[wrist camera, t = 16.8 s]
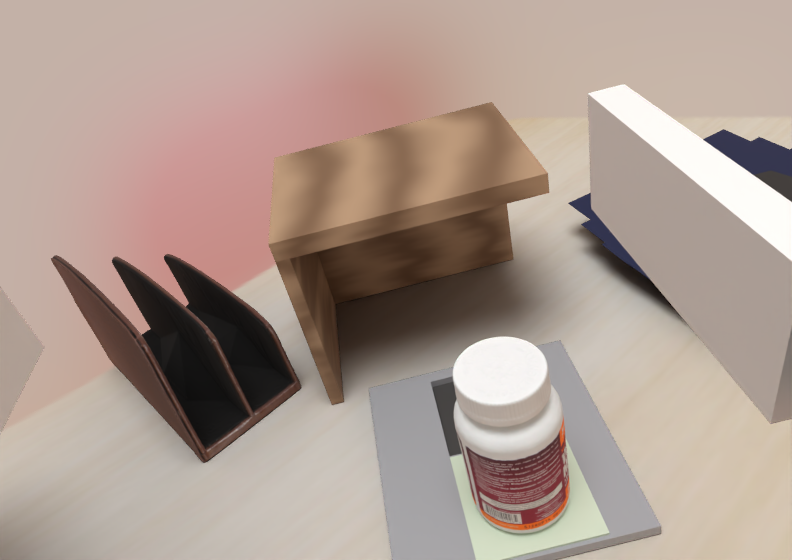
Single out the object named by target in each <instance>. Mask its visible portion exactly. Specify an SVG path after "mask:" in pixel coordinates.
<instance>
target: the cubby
mask: <svg viewBox="0 0 792 560" xmlns="http://www.w3.org/2000/svg"><path fill="white" fill-rule="evenodd" d="M546 193H549V183H548V173H547V172H546V170H545V169H544V168H543V167H542V165H541V164H540V163H539V161H538V160H537V159H536V158H535V156H534V155H533V154H532V153H531V151H530V150H529V149H528V147H527V146H526V145H525V144H524V142H523V141H522V140H521V139H520V137H519V136H518V135H517V134H516V132H515V131H514V130H513V128H512V127H511V126H510V125H509V123H508V122H507V121H506V120H505V118H504V117H503V116H502V115H501V113H500V112H499V111H498V109H497V108H496V107H495V106H494V104H493V103H492V102H490V103H486V104H483V105H479V106H475V107H471V108H467V109H463V110H460V111H456V112H452V113H447V114H443V115H440V116H436V117H432V118H428V119H424V120H420V121H416V122H412V123H408V124H404V125H401V126H397V127H393V128H389V129H385V130H381V131H377V132H373V133H369V134H365V135H362V136H358V137H354V138H350V139H346V140H342V141H338V142H334V143H330V144H326V145H322V146H319V147H315V148H311V149H307V150H303V151H299V152H295V153H291V154H288V155H283V156H280V157H276V158H274V172H273V187H272V202H271V216H270V230H269V247H270V249H271V252H272V254H273V257H274V259H275V262H276V264H277V267H278V270H279V272H280V275H281V277H282V280H283V282H284V285H285V287H286V290H287V292H288V295H289V297H290V300H291V302H292V305H293V307H294V310H295V313H296V315H297V318H298V320H299V323H300V325H301V328H302V330H303V333H304V335H305V338H306V340H307V343H308V345H309V348H310V350H311V353H312V356H313V358H314V361H315V363H316V366H317V368H318V371H319V373H320V376H321V378H322V381H323V383H324V386H325V388H326V391H327V393H328V396H329V399H330V401H331V404H332V405H333V404H337V403H341V402H344V399H343V387H342V376H341V365H340V353H339V342H338V331H337V319H336V308H335V304H338V303H342V302H346V301H350V300H354V299H358V298H362V297H366V296H370V295H374V294H377V293H381V292H385V291H389V290H393V289H397V288H401V287H405V286H409V285H413V284H417V283H421V282H425V281H429V280H433V279H437V278H441V277H445V276H449V275H453V274H457V273H460V272H464V271H468V270H472V269H476V268H480V267H484V266H488V265H492V264H496V263H500V262H504V261H508V260H512V259H513V252H512V244H511V236H510V228H509V219H508V211H507V203H511V202H515V201H519V200H523V199H526V198H530V197H534V196H538V195H542V194H546Z"/></svg>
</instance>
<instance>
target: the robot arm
mask: <svg viewBox="0 0 792 560" xmlns="http://www.w3.org/2000/svg"><path fill="white" fill-rule="evenodd" d="M588 119H589V152H590V186H591V209H592V210H593V211H594V212H595V214H596V215H597V216H598V217H599V218H600V220H601V221H602V222H603V223H604V224H605V226H606V227H607V228H608V229H609V230H610V232H611V233H612V234H613V235H614V236H615V238H616V239H617V240H618V241H619V242H620V244H621V245H622V246H623V247H624V248H625V250H626V251H627V252H628V253H629V254H630V256H631V257H632V258H633V259H634V260H635V262H636V263H637V264H638V265H639V266H640V268H641V269H642V270H643V271H644V272H645V274H646V275H647V276H648V277H649V278H650V280H651V281H652V282H653V283H654V284H655V286H656V287H657V288H658V289H659V290H660V292H661V293H662V294H663V295H664V296H665V298H666V299H667V300H668V301H669V302H670V304H671V305H672V306H673V307H674V308H675V310H676V311H677V312H678V313H679V314H680V316H681V317H682V318H683V319H684V320H685V322H686V323H687V324H688V325H689V326H690V328H691V329H692V330H693V331H694V332H695V334H696V335H697V336H698V337H699V338H700V340H701V341H702V342H703V343H704V344H705V346H706V347H707V348H708V349H709V350H710V352H711V353H712V354H713V355H714V357H715V358H716V359H717V360H718V361H719V363H720V364H721V365H722V366H723V367H724V369H725V370H726V371H727V372H728V373H729V375H730V376H731V377H732V378H733V379H734V381H735V382H736V383H737V384H738V385H739V387H740V388H741V389H742V390H743V391H744V393H745V394H746V395H747V396H748V397H749V399H750V400H751V401H752V402H753V403H754V405H755V406H756V407H757V408H758V409H759V411H760V412H761V413H762V414H763V415H764V417H765V418H766V419H767V420H768V421H769V423H770V424H773V423H777V422H781V421H785V420H789V419H792V177H791V176H787V175H784V174H781V173H778V172H775V171H771V170H770V171H766V172H763V173H759V174H755V175H752V174H751V173H750V172H748V171H747V170H745V169H744V168H742V167H741V166H740V165H738V164H737V163H735V162H734V161H733V160H731V159H730V158H728V157H727V156H725V155H724V154H723V153H721V152H720V151H718V150H717V149H715V148H714V147H713V146H711V145H710V144H708V143H707V142H705V141H704V140H703V139H701V138H700V137H698V136H697V135H696V134H694V133H693V132H691V131H690V130H688V129H687V128H686V127H684V126H683V125H681V124H680V123H678V122H677V121H676V120H674V119H673V118H671V117H670V116H669V115H667V114H666V113H664V112H663V111H661V110H660V109H659V108H657V107H656V106H654V105H653V104H651V103H650V102H649V101H647V100H646V99H644V98H643V97H641V96H640V95H639V94H637V93H636V92H634V91H633V90H631V89H630V88H629V87H627V86H626V85H624V84H623V85H619V86H615V87H612V88H607V89H603V90H600V91H596V92H592V93H588ZM43 349H44V346H43V344H42V343H41V341H40V340H39V339H38V337H37V336H36V334H34V332H33V330H32V329H31V328H30V326H29V325H28V324H27V322H26V321H25V319H24V318H23V317H22V315H21V314H20V313H19V311H18V310H17V309H16V307H15V306H14V305H13V303H12V302H11V300H10V299H9V298H8V296H7V295H6V294H5V292H4V291H3V290H2V288H1V287H0V434H1V432H2V430H3V428H4V426H5V424H6V422H7V420H8V418H9V416H10V414H11V412H12V410H13V408H14V406H15V404H16V402H17V400H18V398H19V396H20V394H21V392H22V391H23V389H24V387H25V385H26V383H27V381H28V379H29V377H30V375H31V373H32V371H33V369H34V367H35V365H36V363H37V361H38V359H39V357H40V355H41V353H42V351H43Z"/></svg>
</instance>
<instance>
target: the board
mask: <svg viewBox="0 0 792 560" xmlns="http://www.w3.org/2000/svg"><path fill="white" fill-rule="evenodd" d="M536 347H537V348H538V349H539V350H540V351H541V352H542V353H543V355H544V356H545V358H546V361H547V364H548V369H549V377H550V382H551V385H552V386H553V387H554V389H555V390H556V391H557V393H558V395H559V397H560V400H561V403H562V409H563V417H564V426H565V437H566V447H567V458H568V469H569V483H570V495H569V501H568V504H567V507H566V509H565V511H564V512H563V514H562V515H561V516H560V517H559V518H558V520H557V521H555V522H554V523H553V524H551V525H550V526H548V527H546V528H544V529H542V530H539V531H536V532H531V533H512V532H508V531H504V530H502V529H499V528H497V527H495V526H493V525H492V524H490V523H489V522H488V521H487V520H486V519H485V518H484V517H483V516H482V515H481V514H480V512H479V511H478V509H477V507H476V505H475V503H474V499H473V497H472V492H471V489H470V485H469V481H468V476H467V473H466V468H465V464H464V460H463V456H462V452H461V448H460V444H459V440H458V436H457V432H456V429H455V423H454V406H455V402H456V399H457V398H456V393H455V387H454V382H453V376H452V374H453V367H451V368H447V369H443V370H439V371H435V372H432V373H428V374H424V375H420V376H416V377H412V378H408V379H404V380H400V381H396V382H392V383H388V384H384V385H380V386H376V387H372V388H369V394H370V402H371V409H372V416H373V424H374V431H375V438H376V446H377V453H378V460H379V467H380V475H381V482H382V489H383V497H384V504H385V511H386V519H387V526H388V533H389V541H390V548H391V555H392V560H556V559H560V558H564V557H568V556H572V555H576V554H580V553H584V552H589V551H593V550H597V549H601V548H605V547H609V546H613V545H617V544H621V543H625V542H629V541H633V540H637V539H641V538H645V537H649V536H653V535H657V534H661V525H660V523H659V521H658V519H657V517H656V516H655V514H654V512H653V510H652V508H651V506H650V505H649V503H648V501H647V499H646V497H645V495H644V494H643V492H642V490H641V488H640V486H639V484H638V482H637V481H636V479H635V477H634V475H633V473H632V471H631V470H630V468H629V466H628V464H627V462H626V460H625V459H624V457H623V455H622V453H621V451H620V449H619V448H618V446H617V444H616V442H615V440H614V438H613V436H612V435H611V433H610V431H609V429H608V427H607V425H606V424H605V422H604V420H603V418H602V416H601V414H600V413H599V411H598V409H597V407H596V405H595V403H594V402H593V400H592V398H591V396H590V394H589V392H588V390H587V389H586V387H585V385H584V383H583V381H582V379H581V378H580V376H579V374H578V372H577V370H576V368H575V367H574V365H573V363H572V361H571V359H570V357H569V356H568V354H567V352H566V350H565V348H564V346H563V345H562V343H561V341H560V340H559V341H555V342H551V343H547V344H543V345H539V346H536Z"/></svg>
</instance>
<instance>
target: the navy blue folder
mask: <svg viewBox="0 0 792 560" xmlns="http://www.w3.org/2000/svg"><path fill="white" fill-rule="evenodd" d="M703 140H704V141H705V142H707V143H708V144H710V145H711V146H713V147H714V148H715V149H717V150H718V151H720V152H721V153H723V154H724V155H725V156H727V157H728V158H730V159H731V160H733V161H734V162H735V163H737V164H738V165H740V166H741V167H742V168H744V169H745V170H747V171H748V172H750V173H751V174H752V175H755V174H759V173H763V172H766V171H770V170H771V171H775V172H778V173H781V174H784V175H787V176H791V177H792V149H790V150H789V149H787V148H785V147H782V146H780V145H777V144H775V143H772V142H770V141H768V140H765V139H763V138H760V137H759V138H757V139H755V140H753V141H749V140H746V139H744V138H742V137H740V136H737V135H735V134H733V133H731V132H728V131H726V130H721V131H719V132H717V133H715V134H713V135H711V136H709V137H707V138H705V139H703ZM568 204H570V205H571V206H573V207H574V208H575V209H577V210H578V211H579V212H581V213H582V214H583V215H585V216H586V217H588V218H589V219H590V220H589V221H587V222H585V223H583V224H581V225H582V226H584V227H585V228H586V229H588V230H589V231H590V232H592V233H593V234H594V235H596V236H597V237H598V238H600V239H601V240H602V241H604V242H605V243H603V244H602V245H603V246H604V247H606V248H607V249H608V250H610V251H611V252H612V253H613V254H615V255H616V256H617V257H619V258H620V259H621V260H623V261H624V262H625V263H626V264H628V265H629V266H630V267H632V268H635V269H636V270H637V271H639V272H640V273H641V274H643V275H644V276H646V277H647V278H648V279H650V278H649V277H648V276H647V275H646V274H645V272H644V271H643V270H642V269H641V268H640V266H639V265H638V264H637V263H636V262H635V260H634V259H633V258H632V257H631V256H630V254H629V253H628V252H627V251H626V250H625V248H624V247H623V246H622V245H621V244H620V242H619V241H618V240H617V239H616V238H615V236H614V235H613V234H612V233H611V232H610V230H609V229H608V228H607V227H606V226H605V224H604V223H603V222H602V221H601V220H600V218H599V217H598V216H597V215H596V214H595V212H594V211H593V210H592V209H591V193H589V194H587V195H585V196H583V197H581V198H578V199H576V200H574V201H572V202H570V203H568Z"/></svg>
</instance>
